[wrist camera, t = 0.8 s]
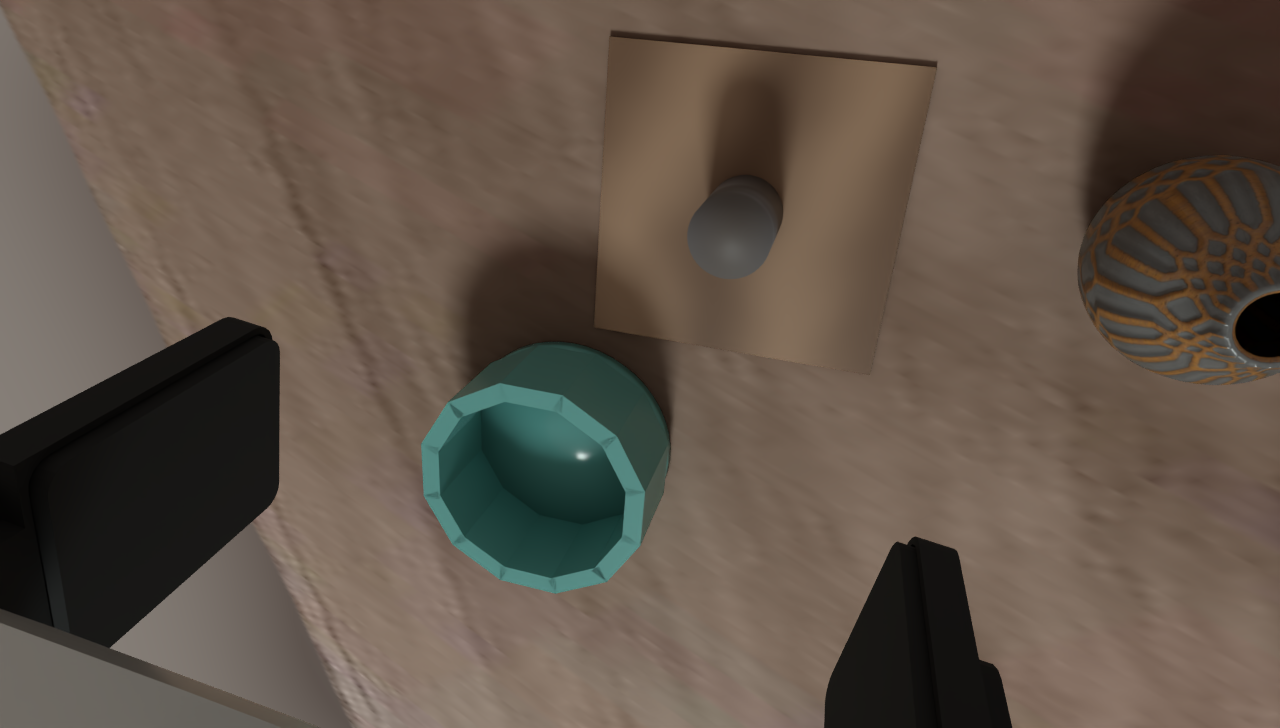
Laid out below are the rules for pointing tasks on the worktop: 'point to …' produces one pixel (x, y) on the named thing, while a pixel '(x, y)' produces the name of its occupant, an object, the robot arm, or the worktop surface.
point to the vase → (1190, 270)
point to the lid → (755, 197)
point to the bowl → (548, 466)
